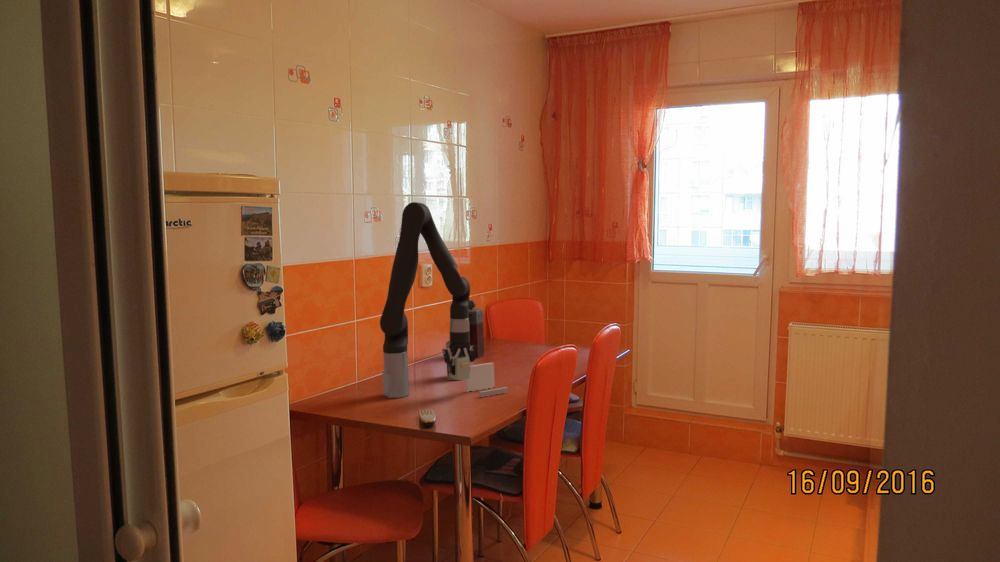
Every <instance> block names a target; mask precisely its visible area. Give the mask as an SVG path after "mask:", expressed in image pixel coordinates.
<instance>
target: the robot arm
mask: <svg viewBox="0 0 1000 562" xmlns="http://www.w3.org/2000/svg"><path fill="white" fill-rule="evenodd" d="M420 235H421V236H422V238H423V240H424V242H425V244H426V246H427V249H428V252H429V255H430V257H431V259H432V261H433V263H434V265H435V266H436V268H437V270H438V272H439V273H440V275H441V278H442V279H443V283H444V285H445V287H446V289H447V291H448V292H449V294H450V295H452V299H451V300H452V301H451V304H450V306H449V307H450V308H449V327H448V328H449V329H448V330H449V341H450V346H449V348H442V349H441V350H442V356H443V360H444V363H445V364H446V365H447V364H449V365H450V373H451V374H452V375H455V360H456V358H458V357H460V356H464V357H469V371H470V366H471V365H470V364H471V363H472V362H475V360H476V359H475V355H476V350H477V347H476V346H473V345H472V346H470V344H469V341H470V335H469V309H468V304H469V300H470V295H471V284H470V281H469V280H468V279H467V278H466V277H464V276H461V274H460V272H459V271H458V264H457V263H456V261H455V259H454V257H453V256H452V254H451V252H450V250H449V249H448V247H447V245H446V244H445V242H444V240H443V238H442V237H441V234H440V233H439V231H438V228H437V226H436V224H435V220H434V218H433V216H432V213H431V211H430V208H429V207H428V206H427V205H426V203H425V204H424V203H422V202H416V201H412V202H409V203H407V205H406V206H405V207H403V210H402V215H401V224H400V233H399V238H398V239H399V240H398V244H397V247H396V251H395V255H394V259H393V262H392V267H391V274H390V277H389V278H390V280H389V283H388V290H387V297H386V301H385V305H384V307H383V310H382V314H381V316H380V321H379V327H380V330H381V331H382V332H383V334H384V342H383V344H382V353H383V371H382V372H381V375H382V390H383V391H382V393H383V396H384V397H386V398H388V399H394V398H395V399H396V398H397V399H398V398H404V397H407V396H409V395H410V382H409V381H410V380H409V361H408V360H409V359H408V358H409V357H408V356H409V355H408V343H409V325H408V324H409V322H408V318H407V315H406V314H405V308H406V302H407V299H408V297H409V294H410V292H411V290H412V289H413V286H414V283H415V279H416V275H417V271H418V266H419V241H420V240H419V239H420ZM469 349H470V355H468V350H469ZM450 351H451V352H452V354H451V359H450V357H449V353H450Z"/></svg>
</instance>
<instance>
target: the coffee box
mask: <svg viewBox="0 0 1000 562" xmlns="http://www.w3.org/2000/svg"><path fill="white" fill-rule="evenodd" d="M449 346H450V340H448V341H446V342H445V347H446V348H449ZM446 348H445V349H446ZM451 354H452V352H451V351H450V353H449V357H450V356H451ZM446 375H447V376H446V379H447V381H457V380H456V379H454V378H452V377H451V373H450V365H449V364H446Z"/></svg>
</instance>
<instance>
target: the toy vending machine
mask: <svg viewBox="0 0 1000 562" xmlns="http://www.w3.org/2000/svg"><path fill="white" fill-rule="evenodd" d="M476 305H477V303H476V301H475V300H474V299H469V304H468V309H469V335H470V341H469V344H470V346H472V345H473V346H476V347H477V350H476V355H475V358H479V359H481V358H483V357H484V356H485V335H484V334H485V333H484V329H485V328H484V310H483V308H482V307H481V308H479V307H478V308H477V307H476ZM468 355H470V349H469V350H468ZM483 355H484V356H483ZM482 356H483V357H482ZM480 357H481V358H480Z"/></svg>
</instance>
